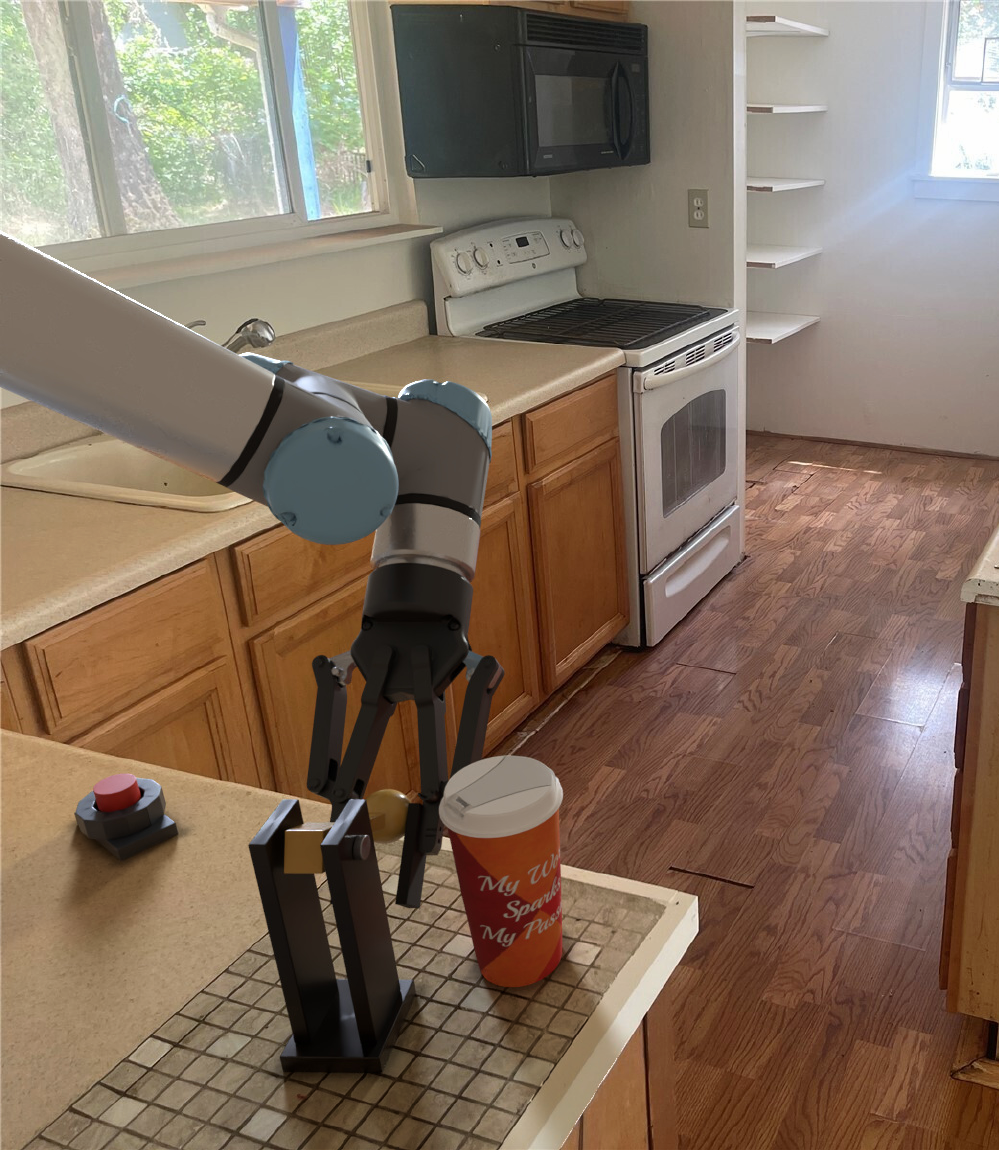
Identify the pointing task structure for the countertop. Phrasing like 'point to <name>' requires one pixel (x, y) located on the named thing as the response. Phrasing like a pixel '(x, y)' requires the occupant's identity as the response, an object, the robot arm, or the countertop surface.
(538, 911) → the paper cup
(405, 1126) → the countertop surface
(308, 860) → the lever
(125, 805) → the set button
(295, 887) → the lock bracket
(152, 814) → the button base
